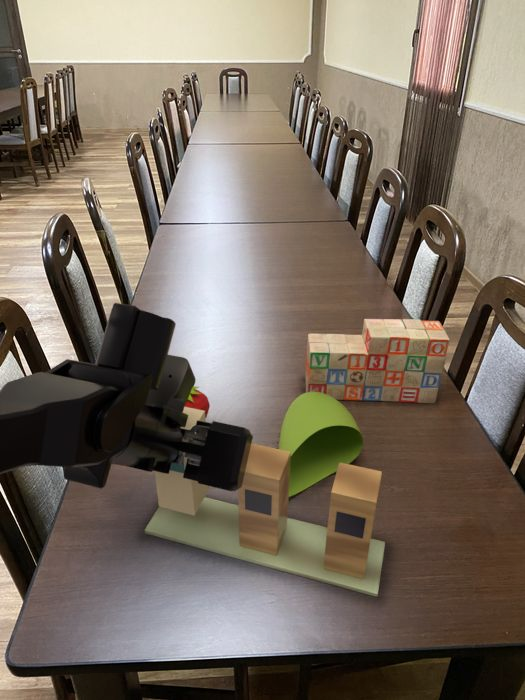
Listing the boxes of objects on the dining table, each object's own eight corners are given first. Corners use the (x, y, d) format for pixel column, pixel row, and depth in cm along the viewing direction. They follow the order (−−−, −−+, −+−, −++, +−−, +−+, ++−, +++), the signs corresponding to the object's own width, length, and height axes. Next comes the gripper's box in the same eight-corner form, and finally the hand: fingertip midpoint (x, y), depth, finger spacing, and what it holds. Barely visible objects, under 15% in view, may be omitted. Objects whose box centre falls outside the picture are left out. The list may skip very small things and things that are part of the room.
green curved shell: (372, 448, 65) (341, 368, 83) (272, 466, 65) (263, 383, 83) (378, 497, 68) (347, 410, 86) (283, 514, 69) (272, 424, 87)
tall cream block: (194, 516, 62) (187, 436, 56) (158, 507, 64) (148, 427, 57) (209, 488, 66) (205, 410, 60) (175, 480, 67) (167, 403, 61)
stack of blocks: (306, 400, 89) (310, 335, 82) (304, 378, 94) (308, 316, 88) (436, 403, 88) (450, 338, 82) (427, 381, 94) (440, 319, 87)
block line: (377, 597, 58) (392, 516, 52) (144, 533, 65) (132, 455, 59) (384, 545, 64) (399, 466, 57) (170, 491, 71) (162, 416, 65)
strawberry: (163, 422, 83) (157, 368, 78) (212, 422, 84) (209, 368, 78) (158, 448, 78) (151, 392, 73) (210, 447, 78) (207, 391, 73)
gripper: (246, 364, 47) (277, 396, 62) (64, 332, 52) (133, 369, 67) (216, 491, 45) (256, 493, 60) (28, 445, 50) (108, 458, 64)
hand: (186, 448), depth 63 cm, fingers closed on tall cream block, 4 cm apart
